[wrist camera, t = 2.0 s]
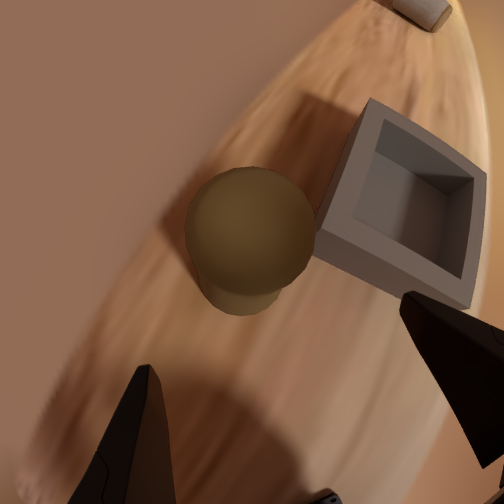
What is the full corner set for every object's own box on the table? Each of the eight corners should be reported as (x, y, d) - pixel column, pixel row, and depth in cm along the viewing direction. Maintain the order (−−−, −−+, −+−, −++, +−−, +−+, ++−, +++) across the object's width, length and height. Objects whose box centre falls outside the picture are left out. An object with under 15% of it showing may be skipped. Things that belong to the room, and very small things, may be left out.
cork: (195, 314, 20) (159, 300, 10) (200, 228, 22) (177, 140, 11) (284, 316, 21) (341, 304, 10) (284, 231, 22) (331, 149, 12)
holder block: (429, 314, 21) (469, 308, 17) (301, 249, 22) (321, 227, 17) (455, 195, 24) (486, 174, 20) (349, 132, 25) (370, 97, 20)
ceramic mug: (430, 40, 32) (451, 7, 24) (386, 10, 32) (402, -24, 25) (444, 28, 34) (461, 0, 27) (406, 2, 35) (421, -27, 28)
